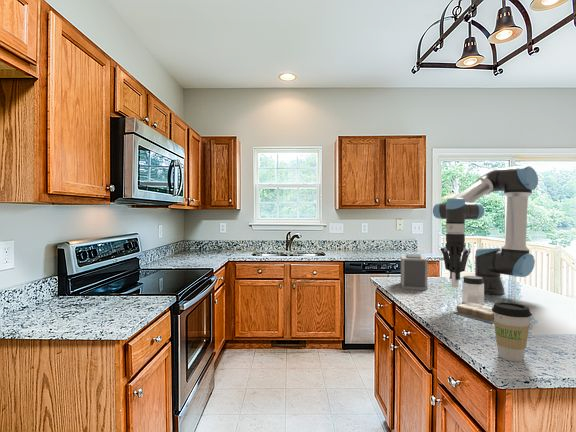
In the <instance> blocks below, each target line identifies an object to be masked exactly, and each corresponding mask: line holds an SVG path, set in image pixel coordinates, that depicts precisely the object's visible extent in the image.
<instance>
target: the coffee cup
mask: <svg viewBox="0 0 576 432" xmlns="http://www.w3.org/2000/svg"><path fill="white" fill-rule="evenodd" d="M491 307H492V311H493V312H494V332H495V340H496V344H497V345H496V346H497V354H498V356H499V358H501V359H503V360H505V361H509V362H516V363H517V362H523V361H524V358H525V352H526V348H527V342H528V336H529V329H530V317H532V315H533V314H532V312H531V311H530V307H529V306H527V305H524V304H520V303H516V302H510V301H509V302H507V301H499V302H498V301H497V302H494V305H493V306H491Z"/></svg>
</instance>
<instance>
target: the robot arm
mask: <svg viewBox="0 0 576 432" xmlns="http://www.w3.org/2000/svg"><path fill="white" fill-rule="evenodd" d="M538 185H539V177H538V174H537V171H536V170H535V169H534V168H533V167H532V166H529V165H518V166H511V167H504V168H503V167H502V168H501V167H500V168H495V169H494V170H491V171H489V172H487V173H485V174H484V175H481V176H480V177H479V178H477V179H476V180H475V182H474V183H473V184H471V185H470V186H468V187H467V188H465V189H464V190H462V191H461V192H458V193H457V194H456V195H454V196H453V197H451V198H450V197H449V198H447V199H446V201H445V202H444V203H442V202H440V203H436V204H434V206H433V208H432V215H433V216H434V218H436V219H441V220H444V219H445V220H446V221H445V232H446V234H445V242H446V244H445V246H444V247H441V248H440V251H441V253H442V258H443V261H444V267H445V269H446V270H447V271H449V277H450V278H449V279H450V280H451V287H452V288H459V280H461V273H463V272H465V270H466V267H467V262H468V258H469V255H470V254H471V252H472V251H471V250H470V249H467V248H466V245H465V243H466V239H465V238H466V235H465V234H464V233H466V224H465V223H466V220H473V221H474V220H475V221H476V220H479V219H482V218H483V216H484V214H485V207H484V206H483V205H482V204H481V203H477V202H476V201H478V200H479V199H480V198H482V197H483V196H485V195H490V194H491V193H494V192H503V194H504V195H505V196H506V219H505V221H506V222H505V243H504V245H503V246H502V247H501V248H500V247H487V248H485V247H484V248H477V249H476V250H475V256H474V260H475V261H474V264H475V267H474V271H475V273H474V274H475V275H474V276H478V277H482V278H483V284H484V295H494V296H495V295H503V294H505V287H504V284H503V282H502V279H501V275H507V276H511V277H516V278H517V277H519V278H526V277H528V276H529V275H530V274H531V273H532V272H533V270H534V268H535V264H536V263H535V262H536V260H535V258H534V255H533V254H532V253H530V249H529V248H528V247H527V245H526V244H527V228H528V227H527V223H528V203H529V202H528V200H529V199H528V198H529V197H530V196H531V195H532V194H533V190H535V189H536V188H537V187H538Z"/></svg>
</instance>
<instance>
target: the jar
mask: <svg viewBox="0 0 576 432" xmlns="http://www.w3.org/2000/svg"><path fill="white" fill-rule="evenodd" d="M462 278H463V281H462V283H461V284H462V285H461V287H462V289H461V292H462V293H461V295H462V296H461V302H462V303H463V304H465V303H470V302H472V303H476V304H481V305H484V304H485V294H484V284H483V278H482V277H478V276H475V275H463V277H462Z"/></svg>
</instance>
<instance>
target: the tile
mask: <svg viewBox="0 0 576 432" xmlns="http://www.w3.org/2000/svg"><path fill="white" fill-rule="evenodd" d="M492 307H493V306H488V305H486V304H485V305H484V304H482V305H481V304H476V303H472V302H470V303H461V304H457V305H456V312H462V313H465V314H469V315H473V316H477V317H480V318H484V319H488V320H492V319H494V312H493V311H492Z"/></svg>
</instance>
